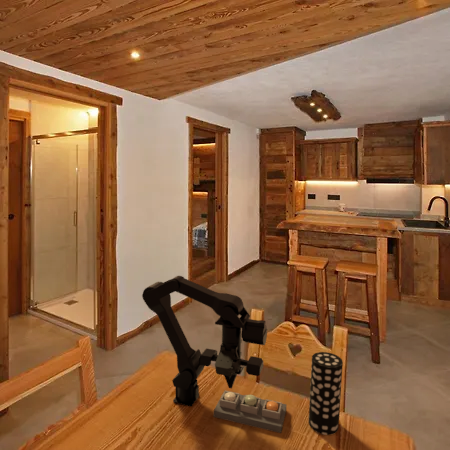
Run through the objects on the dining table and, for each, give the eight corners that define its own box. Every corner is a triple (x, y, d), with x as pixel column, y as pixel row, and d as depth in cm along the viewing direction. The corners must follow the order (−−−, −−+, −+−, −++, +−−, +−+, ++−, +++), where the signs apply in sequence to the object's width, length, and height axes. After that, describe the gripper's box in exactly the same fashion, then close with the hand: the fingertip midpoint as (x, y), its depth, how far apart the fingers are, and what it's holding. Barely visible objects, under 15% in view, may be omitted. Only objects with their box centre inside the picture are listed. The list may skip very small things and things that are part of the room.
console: (213, 416, 102) (213, 404, 101) (224, 396, 111) (224, 385, 111) (281, 433, 96) (281, 420, 95) (286, 410, 105) (286, 398, 105)
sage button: (243, 406, 102) (243, 400, 102) (246, 399, 105) (246, 393, 105) (254, 409, 101) (255, 402, 101) (257, 402, 104) (257, 396, 104)
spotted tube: (340, 437, 95) (344, 369, 92) (309, 432, 96) (312, 365, 94) (336, 416, 103) (340, 353, 100) (308, 412, 104) (311, 350, 102)
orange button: (265, 413, 100) (265, 407, 100) (267, 406, 103) (267, 400, 103) (276, 416, 99) (277, 409, 99) (278, 408, 102) (279, 402, 102)
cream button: (222, 403, 104) (223, 397, 104) (226, 397, 107) (226, 391, 107) (233, 406, 103) (233, 400, 103) (236, 399, 106) (236, 393, 106)
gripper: (191, 346, 98) (191, 397, 100) (255, 357, 92) (254, 411, 94) (205, 330, 108) (205, 376, 110) (264, 339, 103) (263, 388, 105)
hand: (230, 387), depth 105 cm, fingers closed
